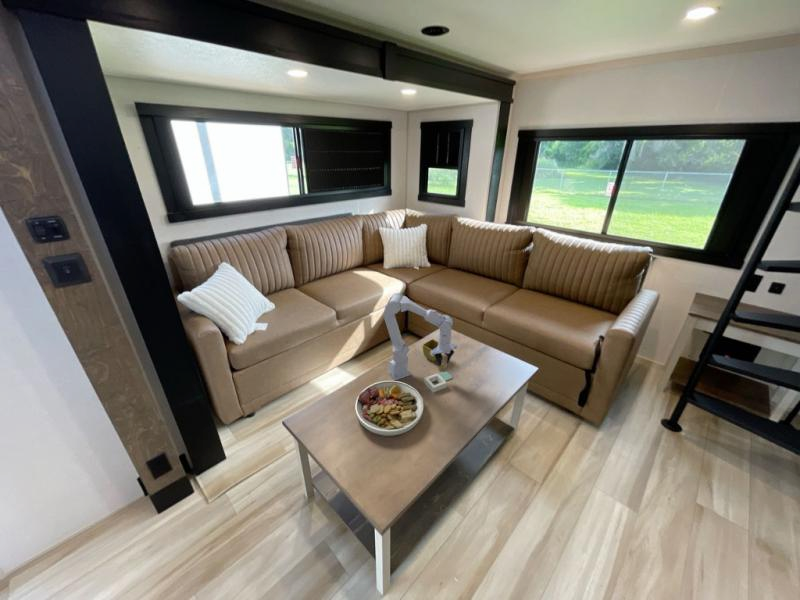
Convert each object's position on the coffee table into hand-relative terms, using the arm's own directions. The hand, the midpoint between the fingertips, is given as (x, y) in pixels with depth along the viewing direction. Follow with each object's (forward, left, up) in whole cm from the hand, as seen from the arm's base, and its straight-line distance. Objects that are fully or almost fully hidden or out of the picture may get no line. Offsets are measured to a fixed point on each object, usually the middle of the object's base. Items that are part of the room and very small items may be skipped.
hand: (442, 363), depth 152 cm
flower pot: (+6, +17, -11) cm, 21 cm away
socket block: (-5, -2, -11) cm, 12 cm away
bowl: (-33, -6, -11) cm, 35 cm away
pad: (+3, +1, -11) cm, 11 cm away
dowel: (0, 0, -4) cm, 4 cm away
